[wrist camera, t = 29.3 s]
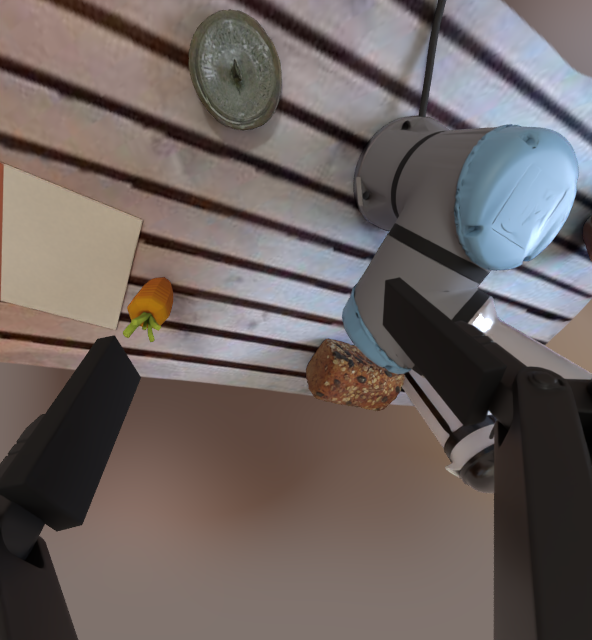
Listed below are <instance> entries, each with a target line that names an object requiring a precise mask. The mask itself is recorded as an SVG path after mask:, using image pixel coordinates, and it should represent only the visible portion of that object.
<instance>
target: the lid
mask: <svg viewBox="0 0 592 640" xmlns="http://www.w3.org/2000/svg"><path fill="white" fill-rule="evenodd" d="M189 70H190V75H191V79H192V82H193V85H194V88H195V90H196V93H197V95H198V96H199V98H200V100H201V102H202V103H203V105H204V106H205V107H206V109H207V110H208V111H209V112H210V114H211V115H212V116H213V117H215V119H216V120H217V121H219V122H220V123H222V124H223V125H225V126H227V127H230V128H232V129H237V130H249V129H254V128H257V127H259V126H262V125H264V124H265V123H266V122H267V121H268V120H269V119H270V118H271V117H272V115H273V114H274V112H275V110H276V108H277V105H278V103H279V100H280V93H281V64H280V60H279V57H278V54H277V52H276V49H275V46H274V44H273V42H272V40H271V39H270V37H268V36H267V34H266V32H265V30H264V29H263V28H262V27H261V25H260V24H259V23H258V22H257V21H256V20H255V19H254V18H252V17H250V16H249V15H247V14H245V13H243V12H241V11H235V10H228V11H226V10H222V11H218V12H217V13H215V14H213V15H211V16H209V17H208V18H207V19H206V20H205V21H203V22H202V23H201V25H200V26H199V27H198V28H197V30H196V32H195V34H194V35H193V38H192V41H191V44H190V49H189Z"/></svg>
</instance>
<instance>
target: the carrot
mask: <svg viewBox="0 0 592 640" xmlns="http://www.w3.org/2000/svg"><path fill="white" fill-rule="evenodd" d="M172 305H173V290H172V286H171V283H170V281H169V280H168V279H166V278H164V277H163V278H154V279H152V280H150V281H149V282H147V283H146V284H145V285H144V286H143V287H142V289H141V290H140V291H139V292H138V294H137V295H136V296H135V297H134V298H133V300H132V301H131V303H130V304H129V305H128V307H127V309H128V312H129V315H130V318H131V321H132V322H131V323H130V324H129V325H128V326H127V328H126V329H125V330H124V331H123V335H124V336H125V337H127V338H129V337H130V336H131V334H132V333H133V332H134V331H135V329H136V328H137V327H138V326H141V327H142V329H143V330H146V328H148V337H149V340H150V342H153V341H154V340H155V339H154V336H153V333H152V328H154V329H156V330H159V329H160V328H161V325H162V324H163V323H164V321H165V320H166V319H167V318H168V317H169V315H170V312H171V309H172Z"/></svg>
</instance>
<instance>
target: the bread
mask: <svg viewBox="0 0 592 640" xmlns="http://www.w3.org/2000/svg"><path fill="white" fill-rule="evenodd" d="M306 374H307V377H306V379H307V383H308V385H309V390H310V391H311V392H312V394H313V396H314V397H315V398H317V399H321V400H324V401H326V402H333V403H335V404H341V405H348V406H355V407H361V408H365V409H369V410H370V409H371V410H374V411H380V410H383V409H385V408H386V407H387V405H388V404H390V403H391V402H392V401H393V400H395V399H396V397H397V395H398V394H399V393H400V391H401V387H402V386H403V384H404V380H405V379H404V374H396V373H392V372H389V371H388V370H387V369H386V368H385V367H380V366H378V365H377V364H375V363H374V362H372V361H371V360H370V359H369V358H367V357H366V356H365V355H364V354H363V353H362V352H361V351H360V350H359V349H358V348H357V346H354V345H352V346H351V345H350V344H348V343H344V342H341V341H337V340H331V339H326V340H325V341H323V343H322V344H321V345H320V346H319V348H318V349H317V351H316V353H315V354H314V356H313V357H312V359H311V360H310V362H309V363H308V365H307V368H306Z"/></svg>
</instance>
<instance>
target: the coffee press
mask: <svg viewBox="0 0 592 640" xmlns="http://www.w3.org/2000/svg"><path fill="white" fill-rule="evenodd" d="M404 379H405V380H404V384H403V386H402V387H401V390H402V391H403V392H406V394H407V395H408V397H409V398H410V400H411V401H412V403H413V404H414V406H415V407H416V409H417V410H418V412H419V413H420V414H421V416H422V417H423V419H424V420H425V422H426V423H427V425H428V426H429V428H430V429H431V431H432V432H433V434H434V435H435V437H436V438H437V439H438V441H439V442H440V444H441V445H442V447H443V448H444V452H445V453H446V455H447V456H448V458H449V459H450V461H451V462H452V464H450V465H448V466H445V468H446V469H447V470H448V471H449V472H450V473H452V474H453V475H455V476H457V477H459V478H461V479H462V480H463V482H464V483H465V484H467V485H470V486H471V487H472V488H473V489H475V490H477V491H479V492H483V493H494V437H493V439H489V435H490V433H491V430H492V428H493V426H494V424H495V422H496V418H495V417H494V416H493V415H492V414H491V413H490V411H488V414H487V416H486V419H485V421H484V422H482V423H478V424H474V425H470V426H466V427H464V426H463V424H462V423H461V422H460V421H459V420H458V418H457V417H456V416H455V415H454V413H453V412H452V411H451V410H450V408H449V407H448V406H447V405H446V403H445V402H444V401H443V400H442V398H441V397H440V396H439V395H438V393H437V392H436V391H435V390H434V388H433V387H432V386H431V385H430V383H429V382H428V381H427V380H426V378H423V377H422V376H420V375H419V374H418V373H416V372H415V371H414V370H411V371H409V372H406V373H404Z"/></svg>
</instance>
